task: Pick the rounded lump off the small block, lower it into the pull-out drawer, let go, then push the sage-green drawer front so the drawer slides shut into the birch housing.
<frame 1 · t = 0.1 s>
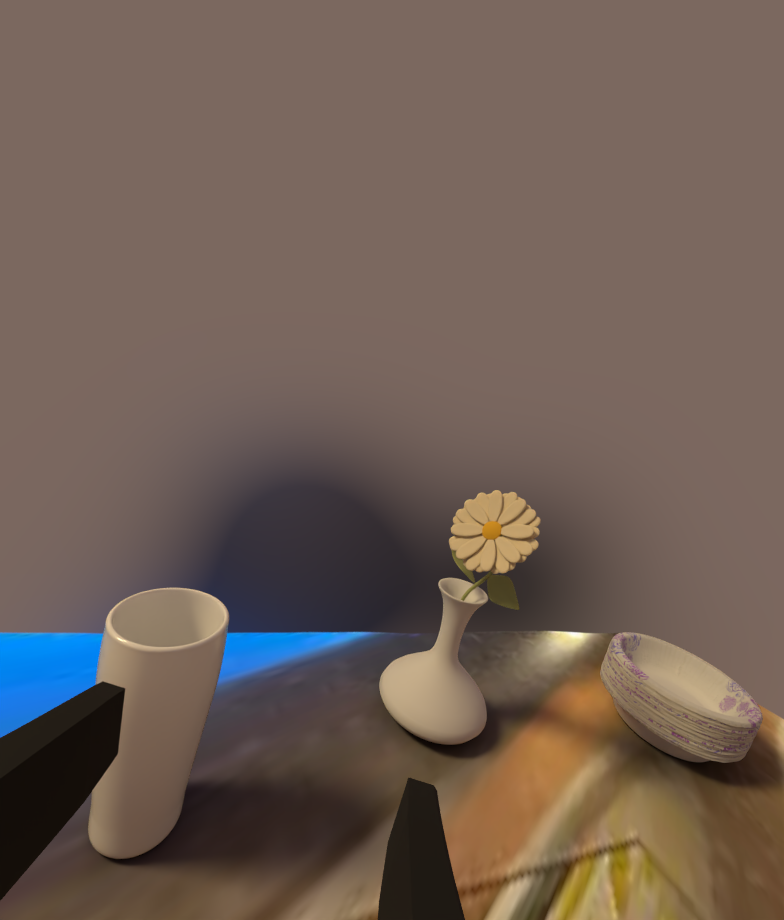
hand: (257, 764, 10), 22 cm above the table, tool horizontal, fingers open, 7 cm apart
paper bowls: (658, 729, 51), on the table
flower in vase: (431, 718, 43), on the table
white cylinder: (135, 822, 28), on the table
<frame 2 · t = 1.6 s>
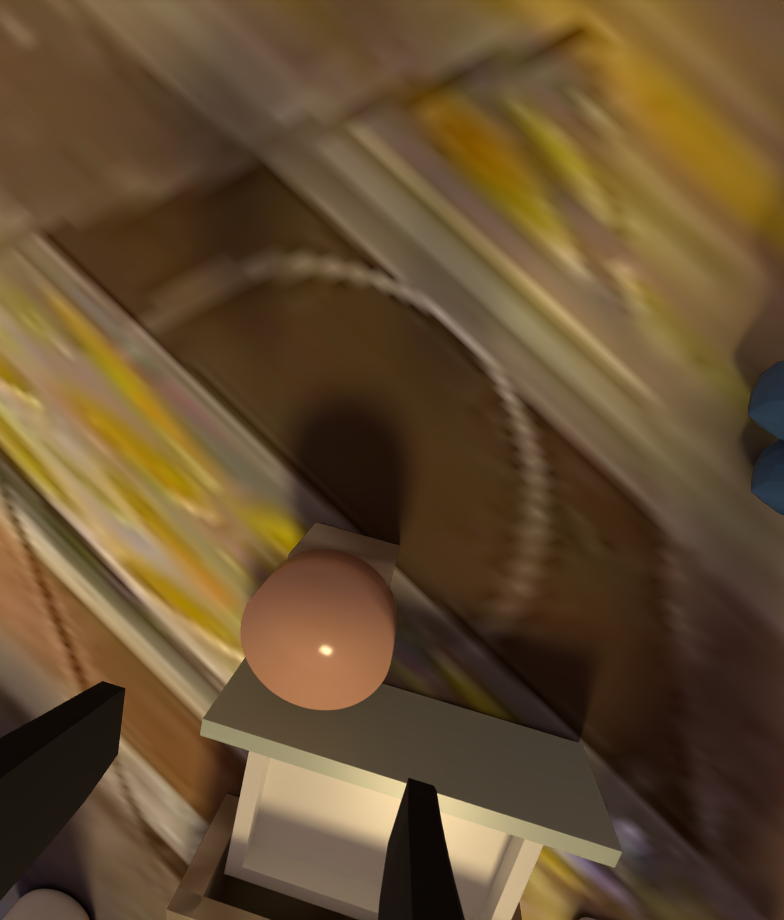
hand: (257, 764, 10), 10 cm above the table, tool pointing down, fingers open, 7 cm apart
rounded lump: (328, 614, 16), point 3 cm above the table, touching block
block: (348, 572, 20), on the table
pull-out drawer: (382, 822, 19), point 2 cm above the table, slide at 9.0 cm
housing: (347, 911, 24), on the table
white cylinder: (61, 910, 27), on the table
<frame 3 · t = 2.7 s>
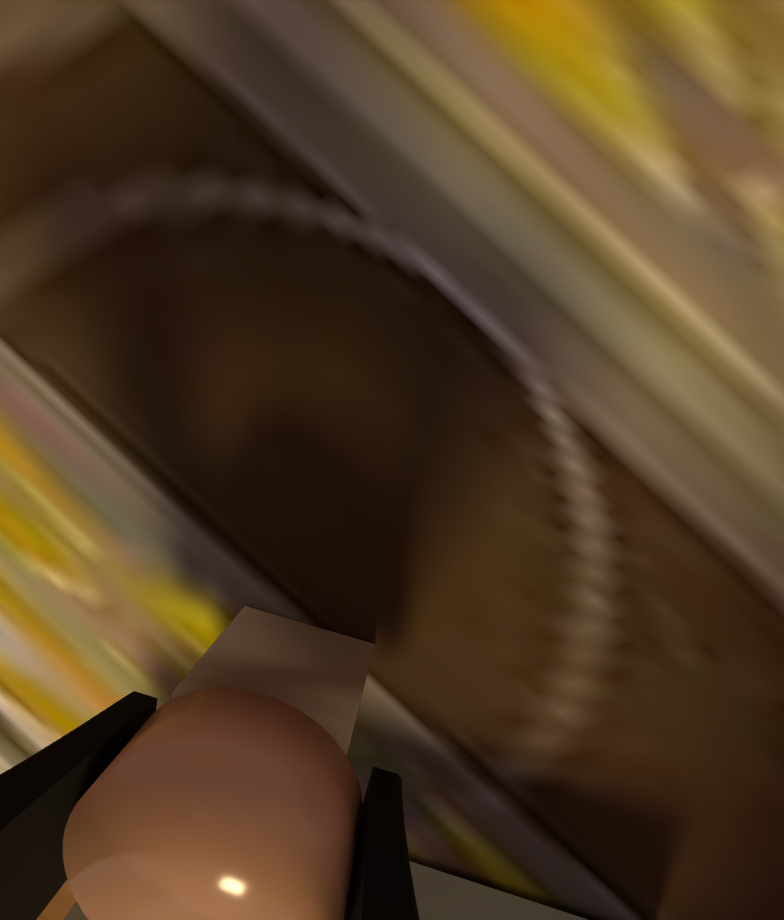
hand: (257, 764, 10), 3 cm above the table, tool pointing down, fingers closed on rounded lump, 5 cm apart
rounded lump: (243, 792, 9), point 3 cm above the table, touching gripper, block
block: (296, 680, 13), on the table
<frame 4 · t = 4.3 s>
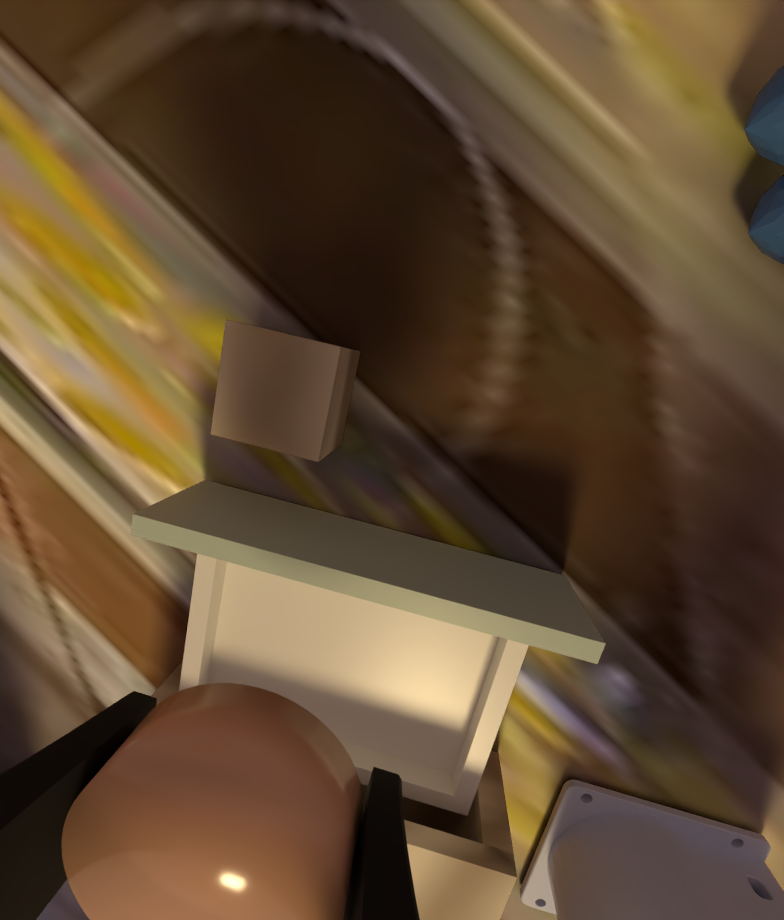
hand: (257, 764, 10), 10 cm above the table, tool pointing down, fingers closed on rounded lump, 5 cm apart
rounded lump: (243, 788, 9), point 10 cm above the table, touching gripper
block: (305, 387, 18), on the table
pull-out drawer: (345, 660, 18), point 2 cm above the table, slide at 9.0 cm
housing: (316, 789, 22), on the table
when the fingers open (3 cm above the table, at t = 5.9 s): rounded lump drops 1 cm, resting on pull-out drawer.
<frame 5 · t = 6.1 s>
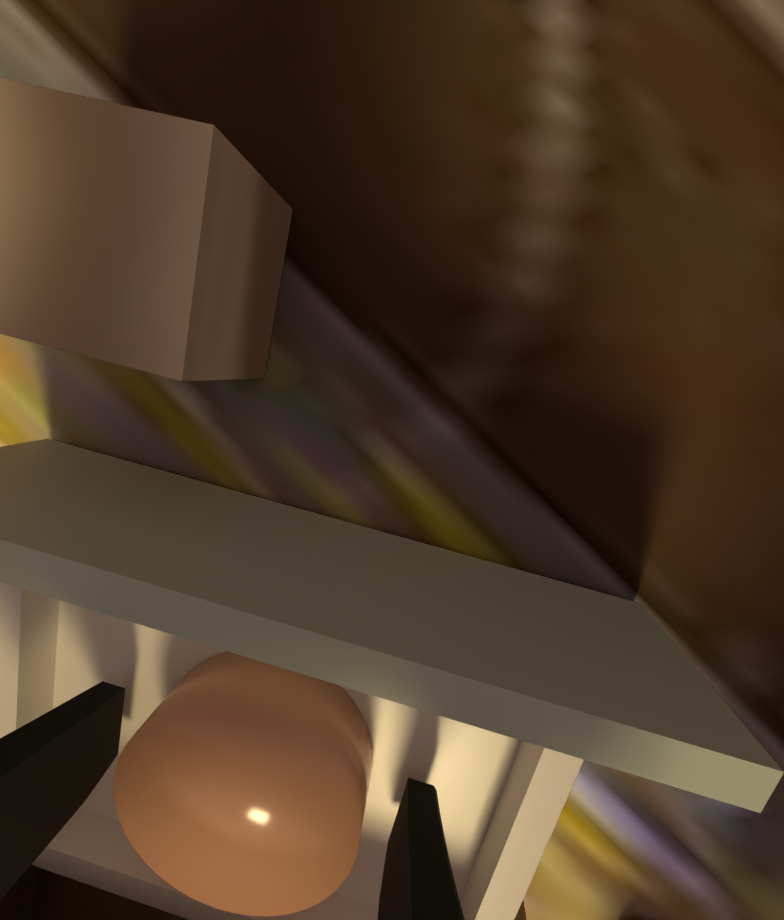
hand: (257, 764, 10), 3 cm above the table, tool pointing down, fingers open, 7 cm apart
rounded lump: (267, 743, 11), point 2 cm above the table, touching pull-out drawer
block: (201, 278, 10), on the table
pull-out drawer: (261, 747, 10), point 3 cm above the table, slide at 9.0 cm, touching rounded lump
housing: (243, 914, 15), on the table
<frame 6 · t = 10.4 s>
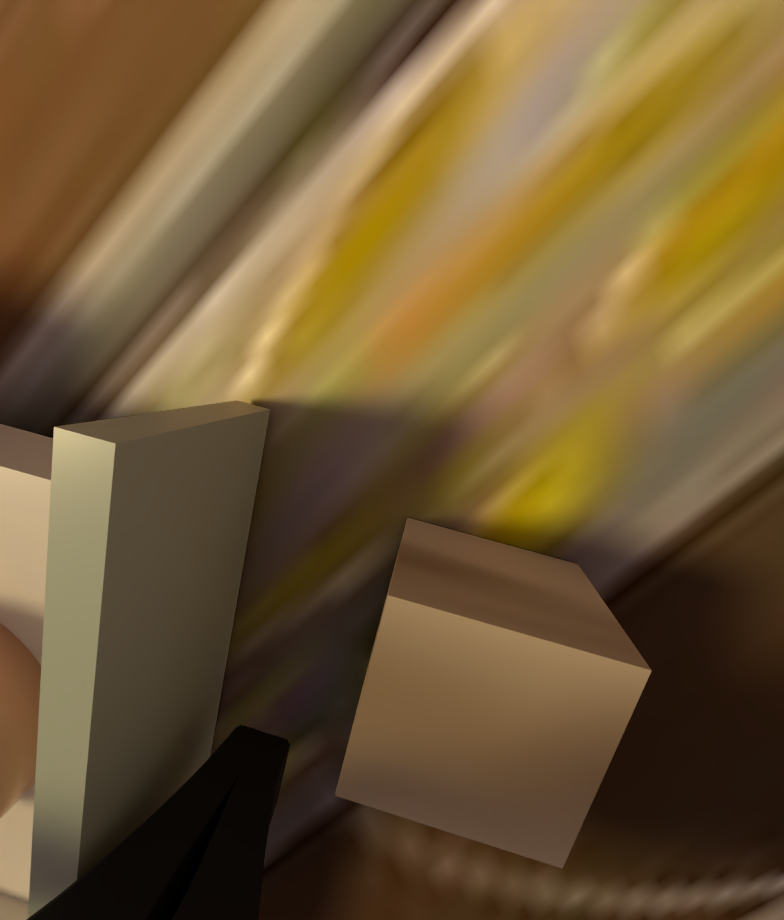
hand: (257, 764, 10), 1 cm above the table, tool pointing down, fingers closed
block: (467, 615, 10), on the table
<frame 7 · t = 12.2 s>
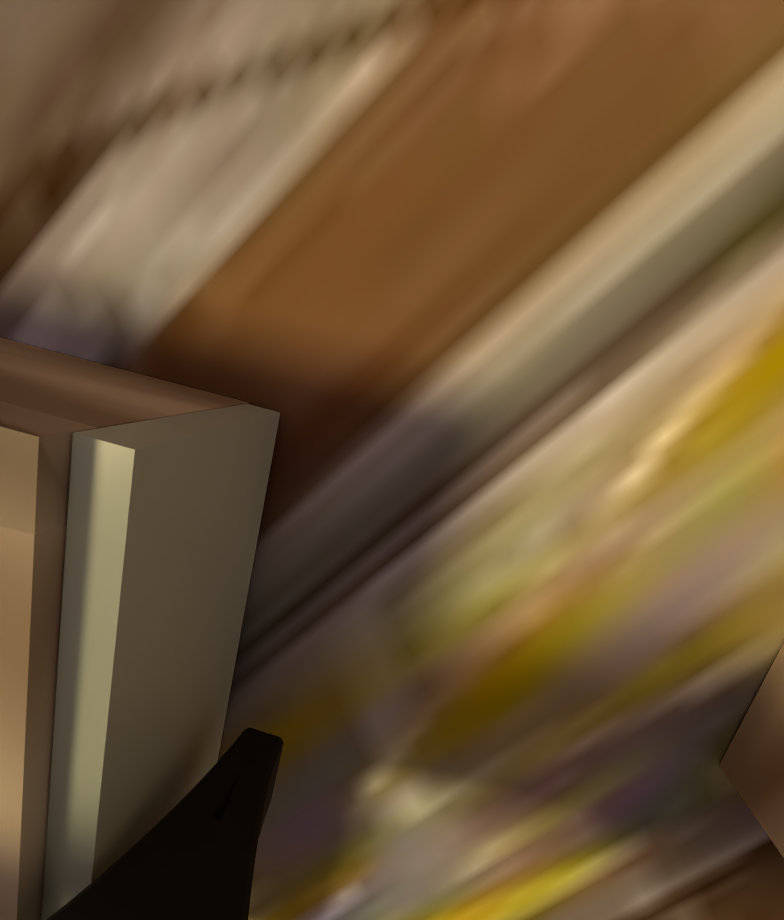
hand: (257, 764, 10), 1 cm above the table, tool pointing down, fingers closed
housing: (20, 637, 12), on the table
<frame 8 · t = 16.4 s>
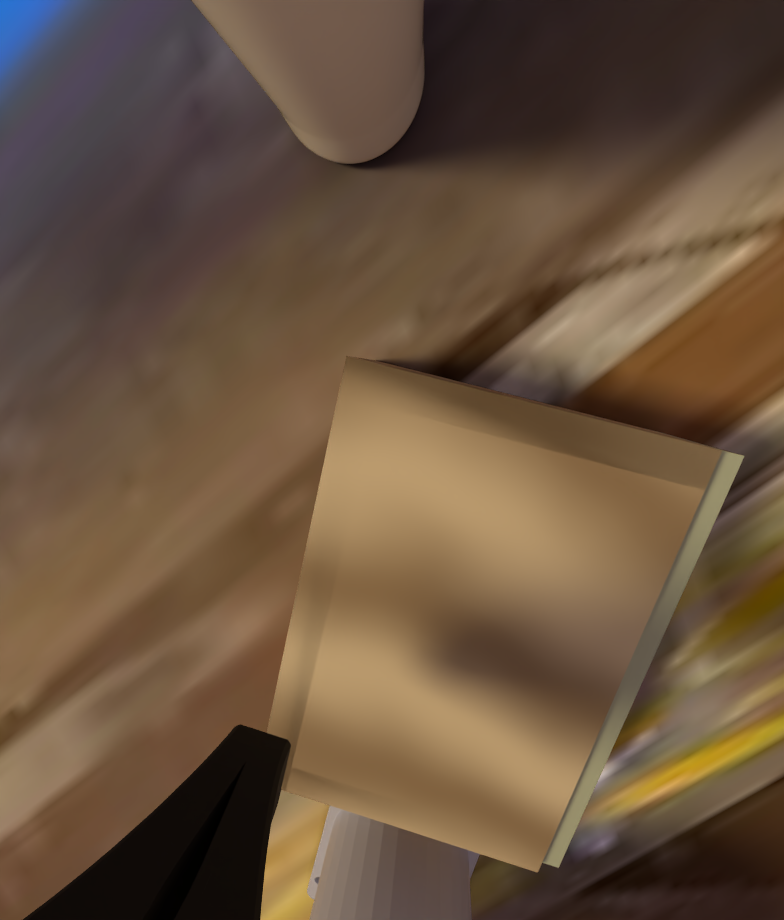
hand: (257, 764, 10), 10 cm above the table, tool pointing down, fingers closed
pull-out drawer: (480, 608, 17), point 3 cm above the table, slide at 0.0 cm, touching rounded lump
housing: (450, 570, 19), on the table
white cylinder: (354, 94, 16), on the table
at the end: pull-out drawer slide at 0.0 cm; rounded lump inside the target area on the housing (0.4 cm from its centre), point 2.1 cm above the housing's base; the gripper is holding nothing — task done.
